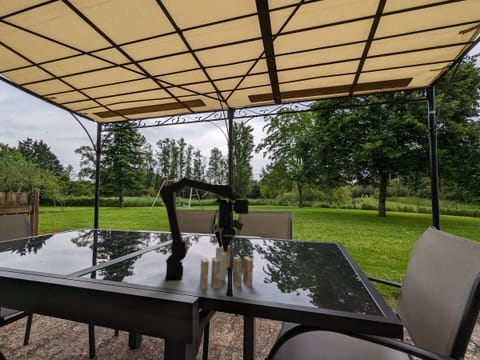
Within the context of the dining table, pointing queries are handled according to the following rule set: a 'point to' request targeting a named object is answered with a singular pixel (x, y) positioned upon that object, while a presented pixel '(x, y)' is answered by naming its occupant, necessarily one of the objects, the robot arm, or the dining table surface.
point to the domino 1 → (204, 273)
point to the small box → (220, 250)
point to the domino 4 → (237, 271)
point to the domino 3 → (222, 266)
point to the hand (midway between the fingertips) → (222, 249)
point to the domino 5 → (247, 271)
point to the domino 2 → (215, 272)
